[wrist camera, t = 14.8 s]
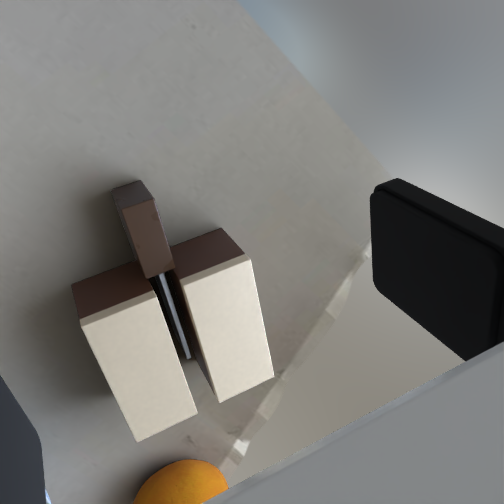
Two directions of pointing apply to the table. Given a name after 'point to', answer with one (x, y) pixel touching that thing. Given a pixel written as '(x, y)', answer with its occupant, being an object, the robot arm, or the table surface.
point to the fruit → (182, 484)
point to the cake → (158, 337)
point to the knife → (149, 244)
